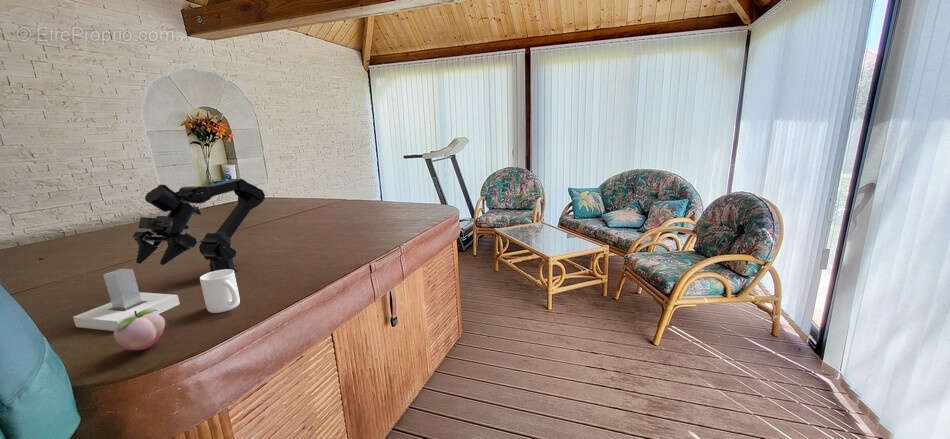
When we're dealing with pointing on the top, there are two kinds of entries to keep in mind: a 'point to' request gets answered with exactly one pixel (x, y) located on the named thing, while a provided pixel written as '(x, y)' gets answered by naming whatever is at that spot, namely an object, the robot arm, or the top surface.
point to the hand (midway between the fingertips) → (149, 263)
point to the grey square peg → (122, 289)
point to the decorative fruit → (139, 330)
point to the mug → (220, 290)
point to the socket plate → (110, 319)
